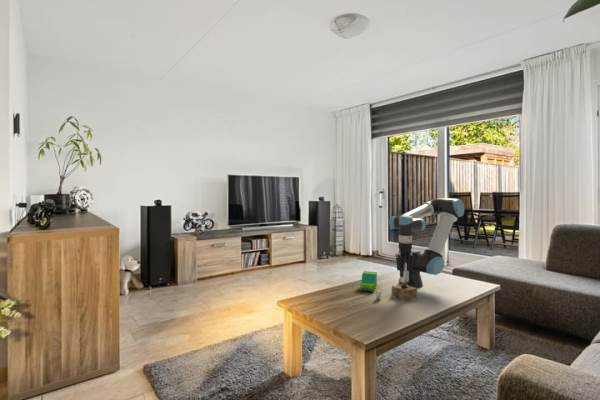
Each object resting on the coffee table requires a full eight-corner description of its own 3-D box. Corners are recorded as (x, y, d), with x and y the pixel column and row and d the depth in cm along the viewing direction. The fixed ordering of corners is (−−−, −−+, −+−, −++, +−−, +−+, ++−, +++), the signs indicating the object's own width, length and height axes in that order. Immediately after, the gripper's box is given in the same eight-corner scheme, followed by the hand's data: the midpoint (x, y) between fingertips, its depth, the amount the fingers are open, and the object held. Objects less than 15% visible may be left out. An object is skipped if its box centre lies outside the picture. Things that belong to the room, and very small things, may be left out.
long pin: (401, 289, 201) (401, 262, 200) (404, 288, 202) (404, 262, 201) (404, 290, 198) (404, 263, 198) (407, 289, 199) (407, 263, 199)
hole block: (391, 295, 203) (392, 286, 202) (404, 293, 207) (404, 283, 207) (403, 301, 194) (404, 290, 193) (416, 298, 198) (417, 288, 198)
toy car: (358, 291, 210) (358, 275, 210) (362, 285, 223) (362, 270, 222) (374, 293, 207) (374, 277, 206) (378, 287, 219) (378, 272, 218)
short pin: (375, 299, 196) (375, 291, 196) (378, 299, 197) (378, 290, 197) (378, 301, 194) (378, 292, 193) (381, 300, 195) (381, 291, 195)
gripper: (399, 244, 192) (399, 285, 193) (419, 242, 199) (418, 281, 200) (390, 242, 198) (389, 281, 200) (410, 240, 205) (409, 278, 207)
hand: (404, 281), depth 200 cm, fingers closed on long pin, 2 cm apart
